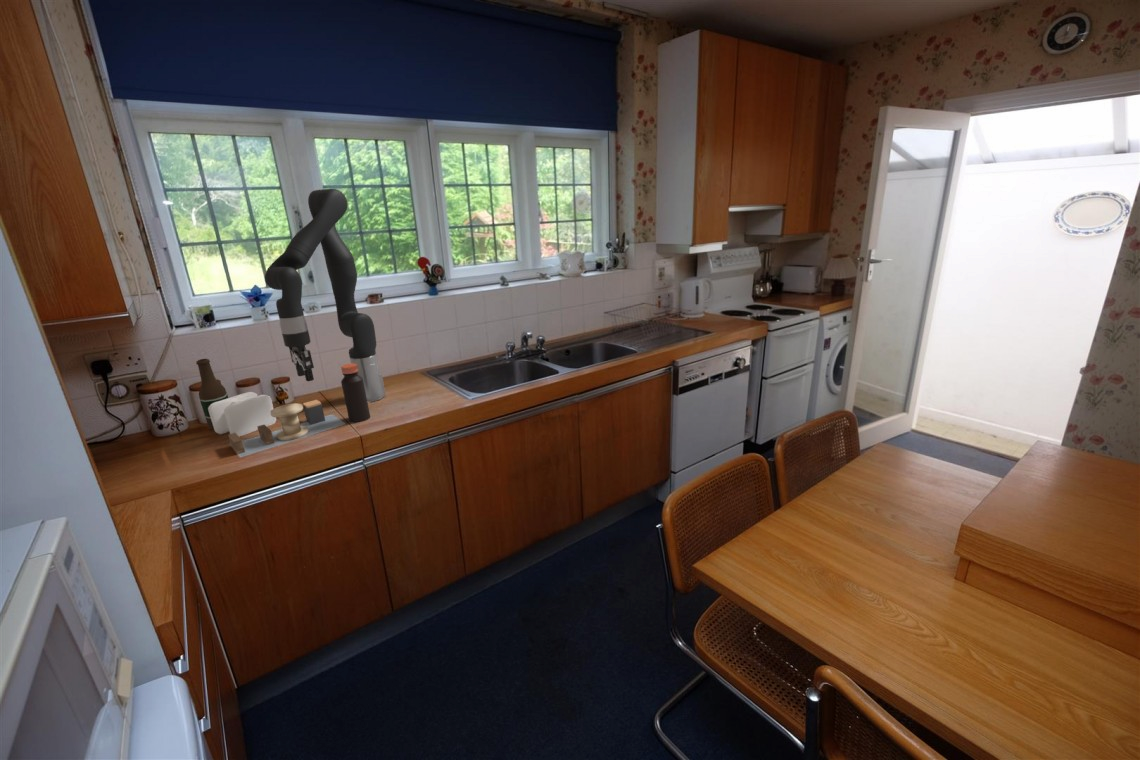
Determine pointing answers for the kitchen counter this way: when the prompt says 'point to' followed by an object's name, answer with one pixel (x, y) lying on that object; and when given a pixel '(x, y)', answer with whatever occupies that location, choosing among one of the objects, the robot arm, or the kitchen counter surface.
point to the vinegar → (354, 394)
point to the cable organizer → (241, 413)
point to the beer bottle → (209, 389)
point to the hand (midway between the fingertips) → (305, 378)
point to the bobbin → (289, 422)
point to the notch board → (238, 445)
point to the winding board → (259, 445)
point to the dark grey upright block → (314, 412)
